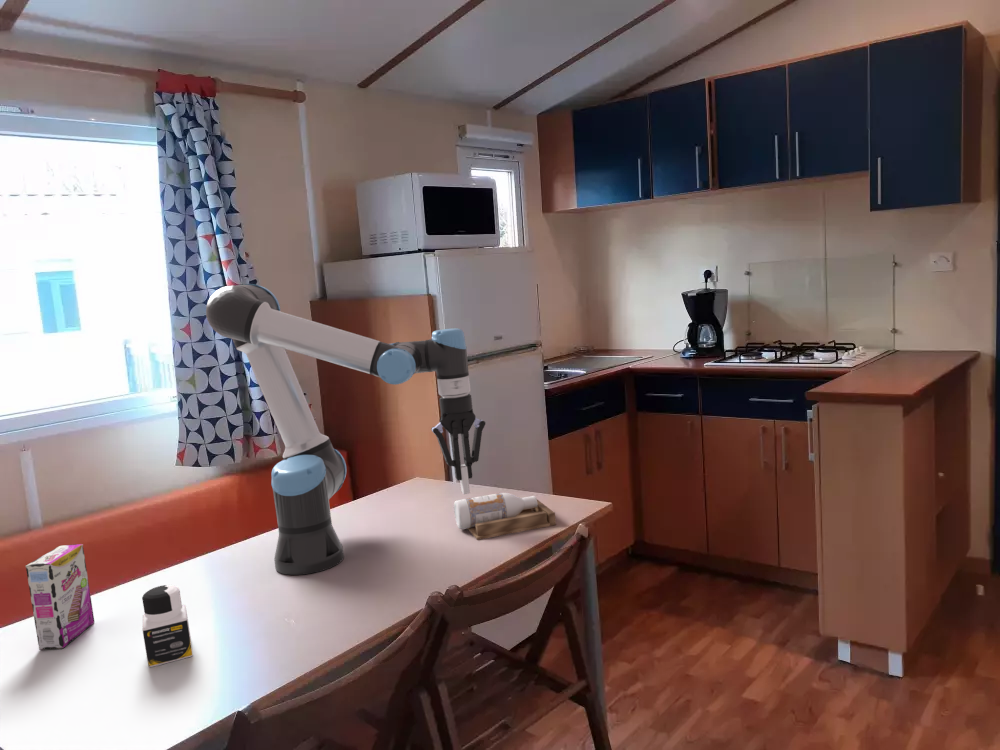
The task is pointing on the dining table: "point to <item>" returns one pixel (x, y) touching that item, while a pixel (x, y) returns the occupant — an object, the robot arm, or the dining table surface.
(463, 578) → the dining table surface
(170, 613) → the medicine bottle
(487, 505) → the bath foam
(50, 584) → the candy bar box
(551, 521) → the wooden tray
